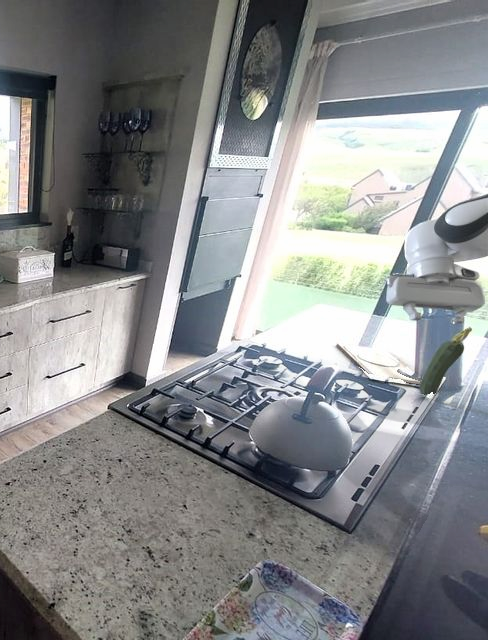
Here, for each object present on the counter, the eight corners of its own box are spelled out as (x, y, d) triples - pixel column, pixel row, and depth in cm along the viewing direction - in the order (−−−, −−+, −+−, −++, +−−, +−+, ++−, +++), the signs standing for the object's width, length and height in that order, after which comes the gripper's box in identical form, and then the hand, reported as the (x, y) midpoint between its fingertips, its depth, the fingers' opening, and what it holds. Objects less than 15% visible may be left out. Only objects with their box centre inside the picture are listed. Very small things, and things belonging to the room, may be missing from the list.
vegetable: (415, 398, 107) (459, 328, 98) (406, 390, 111) (448, 322, 101) (436, 401, 106) (482, 331, 97) (426, 393, 110) (470, 325, 100)
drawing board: (385, 352, 134) (387, 349, 133) (431, 389, 112) (433, 385, 111) (335, 345, 138) (337, 342, 137) (370, 379, 116) (372, 376, 115)
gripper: (395, 266, 110) (400, 312, 106) (486, 273, 106) (494, 320, 102) (378, 278, 116) (381, 322, 112) (463, 285, 112) (470, 330, 108)
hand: (436, 321), depth 107 cm, fingers open, 8 cm apart
